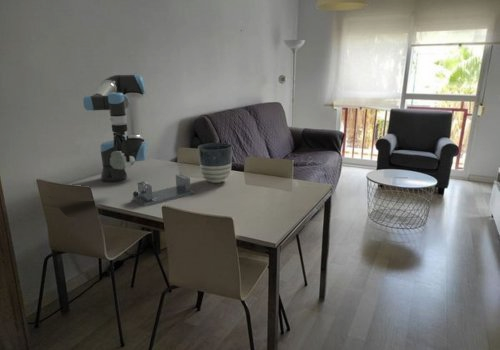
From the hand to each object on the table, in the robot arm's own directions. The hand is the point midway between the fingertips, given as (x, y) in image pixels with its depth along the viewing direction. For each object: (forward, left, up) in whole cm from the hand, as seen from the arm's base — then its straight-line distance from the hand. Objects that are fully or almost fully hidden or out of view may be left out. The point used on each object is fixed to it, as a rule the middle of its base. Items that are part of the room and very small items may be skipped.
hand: (124, 165), depth 196 cm
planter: (+14, +49, -16) cm, 53 cm away
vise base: (+17, +13, -16) cm, 27 cm away
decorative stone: (0, 0, -1) cm, 1 cm away
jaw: (+17, 0, -14) cm, 22 cm away
